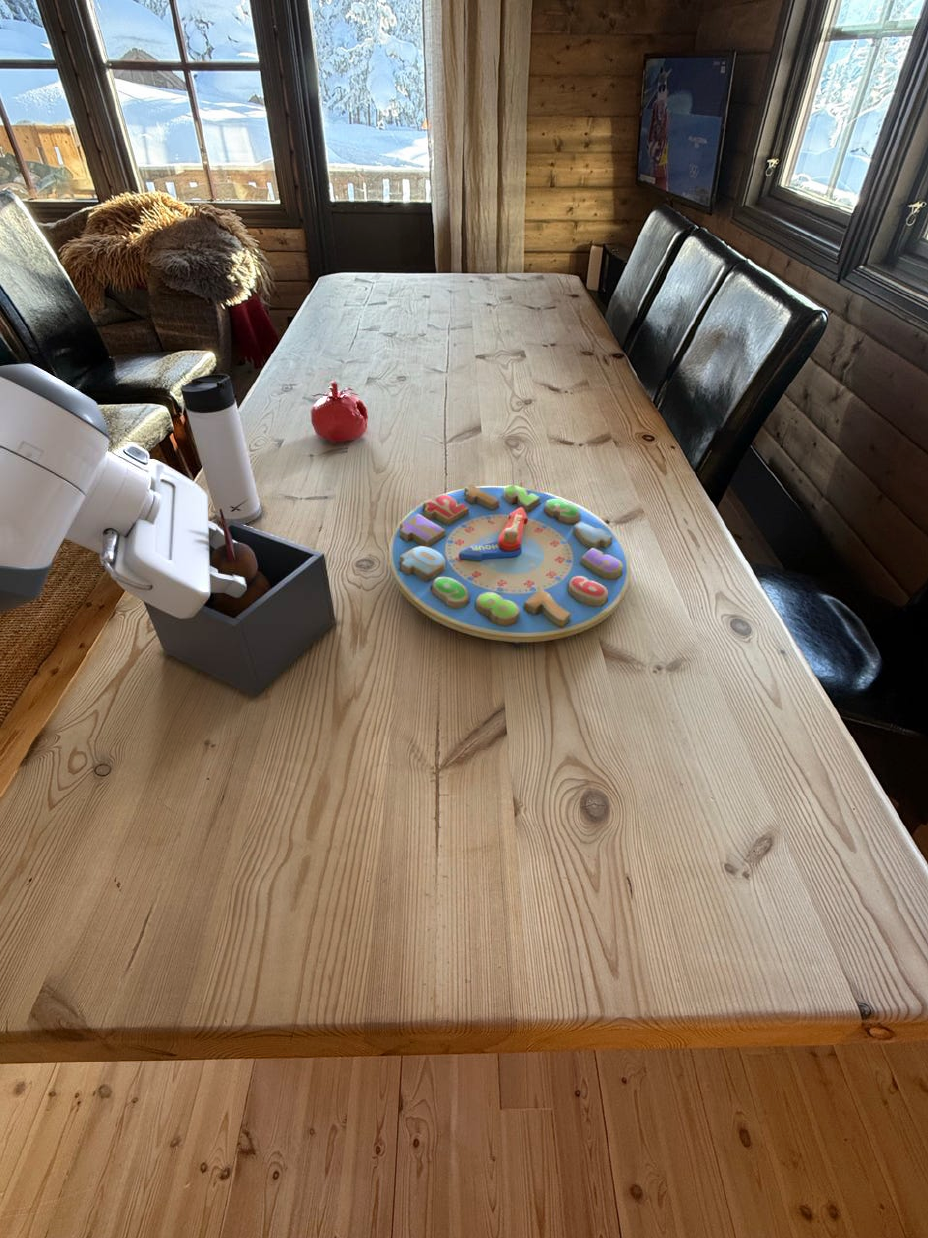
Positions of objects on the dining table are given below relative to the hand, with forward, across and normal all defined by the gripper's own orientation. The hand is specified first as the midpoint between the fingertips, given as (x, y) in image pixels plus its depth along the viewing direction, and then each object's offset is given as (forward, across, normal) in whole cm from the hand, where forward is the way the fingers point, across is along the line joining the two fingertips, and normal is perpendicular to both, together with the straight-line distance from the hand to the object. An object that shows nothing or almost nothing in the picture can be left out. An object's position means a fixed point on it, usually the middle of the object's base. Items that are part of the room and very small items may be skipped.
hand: (241, 571), depth 70 cm
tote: (+6, 0, +7) cm, 9 cm away
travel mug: (+6, +28, +7) cm, 29 cm away
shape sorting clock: (+29, +4, -16) cm, 33 cm away
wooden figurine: (+6, 0, +6) cm, 9 cm away
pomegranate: (+19, +49, -6) cm, 53 cm away
